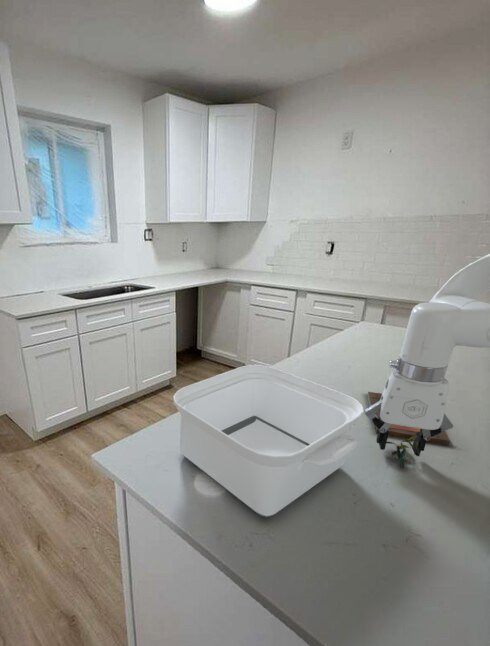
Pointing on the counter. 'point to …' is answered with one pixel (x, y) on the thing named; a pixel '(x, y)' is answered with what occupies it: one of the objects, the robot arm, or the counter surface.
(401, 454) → the dark green branching piece
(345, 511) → the counter surface
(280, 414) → the white storage bin
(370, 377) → the counter surface
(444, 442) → the board
